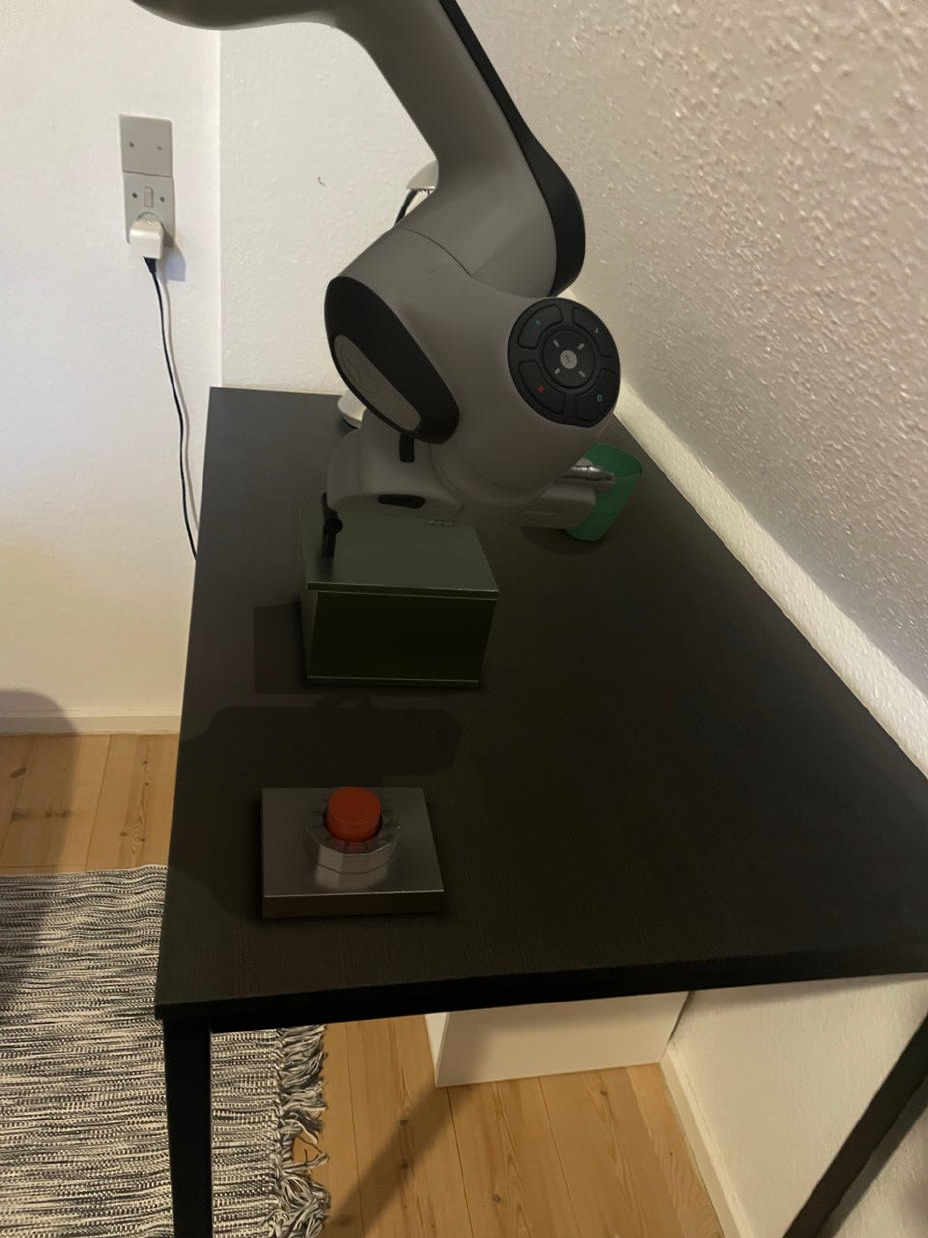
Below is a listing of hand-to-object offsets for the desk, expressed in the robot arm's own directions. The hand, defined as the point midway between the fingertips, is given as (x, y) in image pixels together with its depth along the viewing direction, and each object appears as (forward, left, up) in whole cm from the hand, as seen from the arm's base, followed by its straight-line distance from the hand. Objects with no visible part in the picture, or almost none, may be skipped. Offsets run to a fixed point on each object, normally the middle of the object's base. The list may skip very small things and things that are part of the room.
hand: (440, 517), depth 79 cm
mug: (+26, +33, -17) cm, 45 cm away
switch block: (-8, -22, -16) cm, 29 cm away
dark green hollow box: (-2, +5, -16) cm, 17 cm away
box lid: (-2, +5, -7) cm, 8 cm away
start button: (-8, -22, -13) cm, 27 cm away
